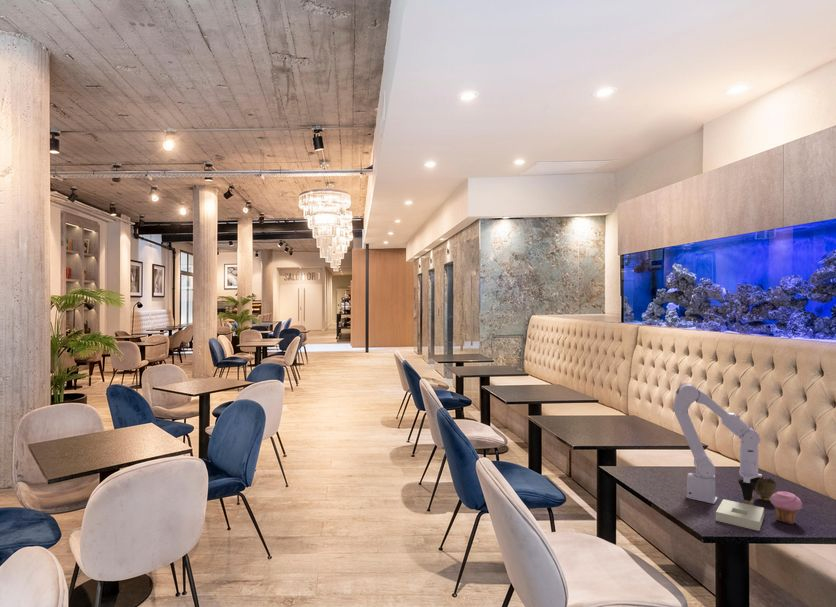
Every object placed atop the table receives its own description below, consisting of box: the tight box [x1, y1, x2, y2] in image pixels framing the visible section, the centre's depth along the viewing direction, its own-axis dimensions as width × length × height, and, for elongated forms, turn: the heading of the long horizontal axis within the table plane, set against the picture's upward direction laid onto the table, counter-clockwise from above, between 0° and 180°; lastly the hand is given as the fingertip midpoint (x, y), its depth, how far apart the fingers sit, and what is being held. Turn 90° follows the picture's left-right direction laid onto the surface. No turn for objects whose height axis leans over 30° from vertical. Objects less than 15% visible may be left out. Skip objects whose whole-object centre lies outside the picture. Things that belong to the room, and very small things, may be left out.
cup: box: [754, 476, 777, 502], centre depth 195 cm, size 8×7×8 cm
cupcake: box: [770, 491, 803, 525], centre depth 175 cm, size 9×9×10 cm
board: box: [715, 498, 765, 531], centre depth 176 cm, size 12×16×3 cm
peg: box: [743, 490, 755, 506], centre depth 189 cm, size 3×3×8 cm
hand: (748, 497), depth 189 cm, fingers open, 7 cm apart
